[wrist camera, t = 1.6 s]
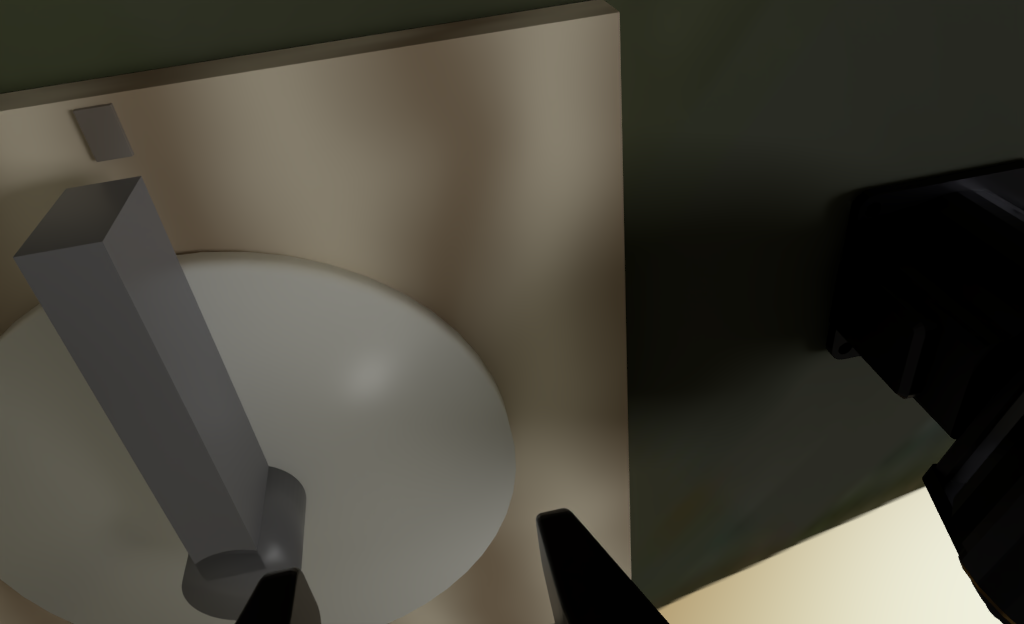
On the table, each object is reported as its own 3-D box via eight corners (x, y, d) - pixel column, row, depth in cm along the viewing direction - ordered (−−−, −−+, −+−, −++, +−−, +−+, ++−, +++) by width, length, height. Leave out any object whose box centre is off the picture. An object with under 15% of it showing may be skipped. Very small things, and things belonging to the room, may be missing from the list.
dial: (531, 573, 28) (555, 673, 25) (106, 668, 27) (71, 787, 23) (460, 106, 17) (485, 174, 14) (-258, 226, 16) (-414, 332, 13)
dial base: (601, -2, 18) (621, 13, 17) (621, 575, 32) (633, 608, 31) (-446, 164, 16) (-518, 196, 15) (60, 702, 30) (46, 743, 29)
